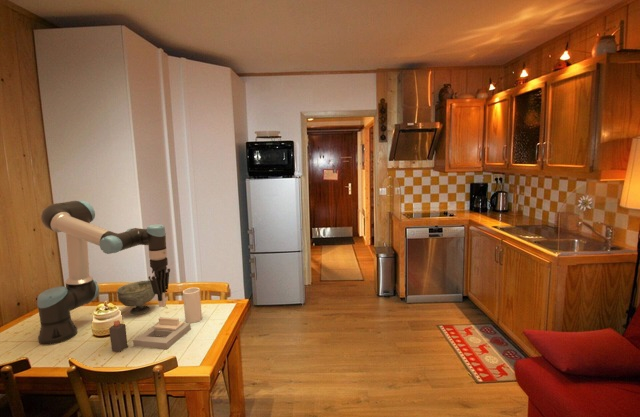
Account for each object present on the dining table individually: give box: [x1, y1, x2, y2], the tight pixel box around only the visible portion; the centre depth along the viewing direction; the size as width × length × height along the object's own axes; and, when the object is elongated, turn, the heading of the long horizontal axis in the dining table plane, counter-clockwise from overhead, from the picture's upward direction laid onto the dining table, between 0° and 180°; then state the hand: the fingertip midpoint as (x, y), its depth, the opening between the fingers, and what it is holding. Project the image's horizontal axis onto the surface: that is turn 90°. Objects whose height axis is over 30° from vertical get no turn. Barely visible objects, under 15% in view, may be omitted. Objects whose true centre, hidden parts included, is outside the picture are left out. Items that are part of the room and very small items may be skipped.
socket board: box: [132, 321, 192, 350], centre depth 167 cm, size 17×19×3 cm
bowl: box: [117, 280, 156, 316], centre depth 197 cm, size 20×19×15 cm
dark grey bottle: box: [108, 320, 129, 353], centre depth 157 cm, size 4×4×13 cm
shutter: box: [153, 316, 185, 330], centre depth 172 cm, size 12×7×4 cm, turn 78°
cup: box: [182, 287, 203, 324], centre depth 184 cm, size 8×8×16 cm
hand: (162, 306), depth 168 cm, fingers closed
